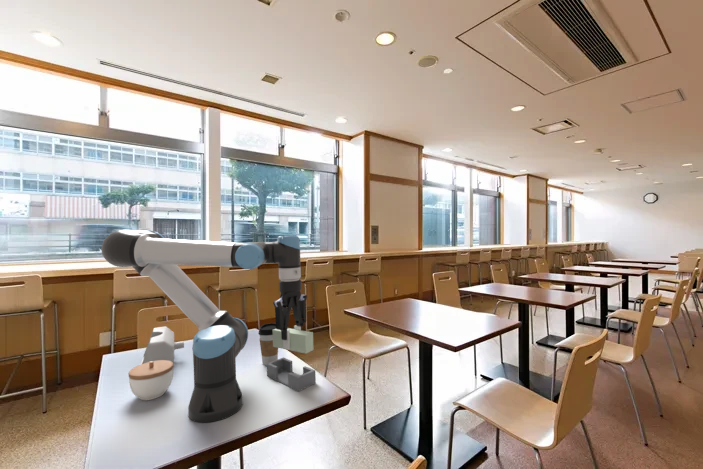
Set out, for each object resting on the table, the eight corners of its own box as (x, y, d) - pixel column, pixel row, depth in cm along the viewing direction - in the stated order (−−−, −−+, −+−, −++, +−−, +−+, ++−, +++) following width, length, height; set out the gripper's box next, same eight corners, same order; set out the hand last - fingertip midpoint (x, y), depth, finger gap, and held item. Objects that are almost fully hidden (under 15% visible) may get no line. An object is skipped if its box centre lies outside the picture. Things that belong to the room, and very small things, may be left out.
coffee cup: (283, 358, 135) (282, 322, 135) (276, 367, 126) (275, 328, 126) (263, 358, 136) (262, 322, 136) (255, 366, 127) (254, 328, 127)
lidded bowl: (179, 394, 107) (178, 360, 107) (134, 409, 98) (133, 373, 98) (167, 382, 116) (166, 351, 116) (125, 395, 107) (124, 362, 107)
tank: (184, 369, 127) (183, 338, 127) (135, 379, 119) (134, 345, 119) (184, 350, 149) (183, 323, 149) (142, 357, 141) (142, 328, 141)
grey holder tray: (298, 391, 106) (298, 377, 106) (266, 375, 119) (266, 363, 119) (315, 383, 112) (315, 370, 112) (283, 369, 124) (283, 357, 124)
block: (273, 346, 115) (272, 329, 115) (280, 343, 118) (280, 326, 118) (306, 353, 107) (305, 335, 107) (313, 349, 110) (312, 332, 110)
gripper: (276, 284, 103) (279, 356, 103) (315, 277, 117) (317, 341, 117) (262, 282, 108) (264, 352, 108) (301, 275, 122) (303, 337, 122)
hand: (292, 346), depth 113 cm, fingers closed on block, 4 cm apart
